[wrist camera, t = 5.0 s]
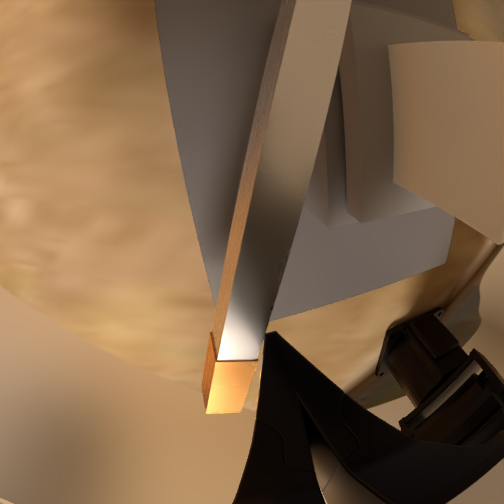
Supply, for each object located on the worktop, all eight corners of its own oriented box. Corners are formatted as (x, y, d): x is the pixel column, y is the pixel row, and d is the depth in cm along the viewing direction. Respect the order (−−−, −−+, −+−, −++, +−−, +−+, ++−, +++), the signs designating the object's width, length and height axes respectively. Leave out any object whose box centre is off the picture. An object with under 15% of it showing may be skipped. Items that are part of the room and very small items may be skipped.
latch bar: (242, 385, 11) (249, 411, 10) (192, 386, 10) (196, 413, 9) (361, -103, 3) (381, -117, 2) (304, -126, 2) (320, -144, 1)
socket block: (427, 249, 18) (483, 294, 13) (217, 308, 16) (237, 392, 11) (418, -36, 8) (487, -50, 3) (150, -61, 6) (142, -131, 1)
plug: (428, 171, 13) (554, 241, 6) (314, 188, 12) (455, 304, 5) (424, 44, 9) (570, 57, 3) (298, 27, 9) (468, -31, 2)
